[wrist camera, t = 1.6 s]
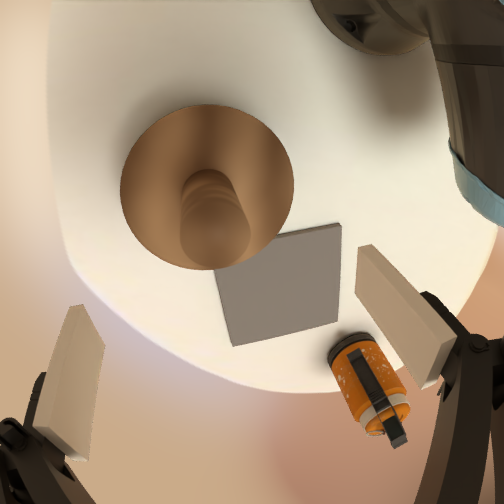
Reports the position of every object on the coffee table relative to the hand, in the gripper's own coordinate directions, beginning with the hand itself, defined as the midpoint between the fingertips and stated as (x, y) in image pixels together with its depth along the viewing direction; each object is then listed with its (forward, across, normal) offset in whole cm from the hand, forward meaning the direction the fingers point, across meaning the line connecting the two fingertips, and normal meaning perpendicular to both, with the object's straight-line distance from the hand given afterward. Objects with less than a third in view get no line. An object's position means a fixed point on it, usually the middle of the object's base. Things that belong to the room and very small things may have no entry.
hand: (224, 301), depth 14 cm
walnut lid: (+15, 0, 0) cm, 15 cm away
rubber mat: (+21, +7, -17) cm, 28 cm away
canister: (+21, +18, -33) cm, 43 cm away
